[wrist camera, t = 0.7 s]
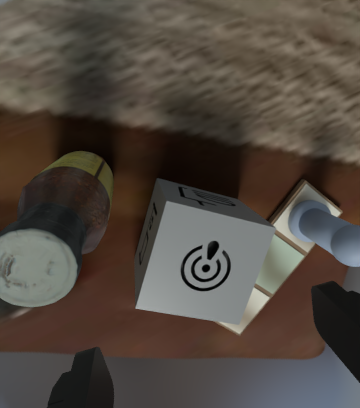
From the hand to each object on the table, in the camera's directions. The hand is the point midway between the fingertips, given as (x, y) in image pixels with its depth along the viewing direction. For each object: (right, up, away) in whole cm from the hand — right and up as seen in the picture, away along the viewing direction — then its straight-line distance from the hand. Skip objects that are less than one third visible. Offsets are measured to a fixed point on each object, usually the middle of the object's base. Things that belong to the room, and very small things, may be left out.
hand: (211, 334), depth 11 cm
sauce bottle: (-11, +7, +21) cm, 25 cm away
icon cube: (0, +2, +25) cm, 25 cm away
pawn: (+14, +3, +25) cm, 29 cm away
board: (+10, -2, +27) cm, 29 cm away
